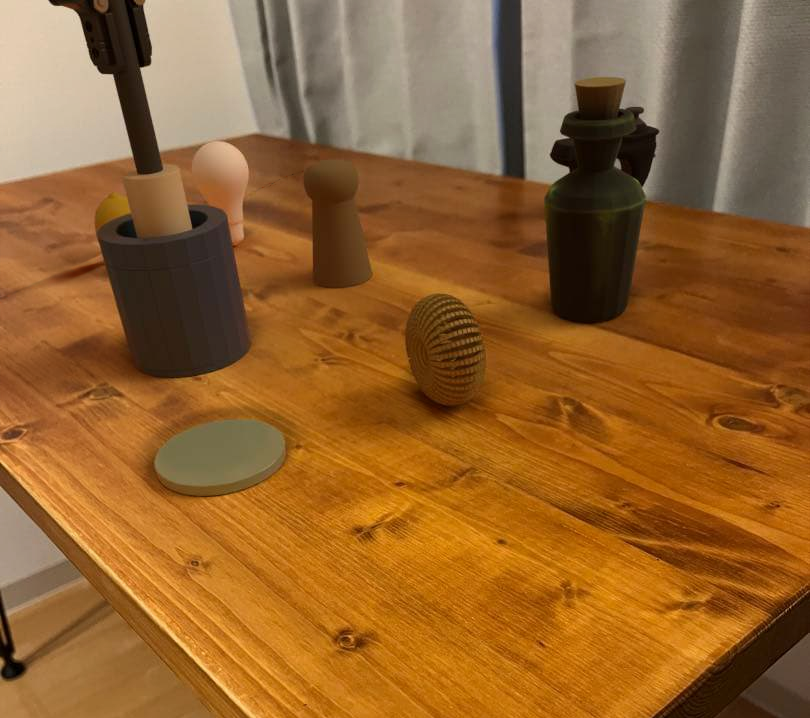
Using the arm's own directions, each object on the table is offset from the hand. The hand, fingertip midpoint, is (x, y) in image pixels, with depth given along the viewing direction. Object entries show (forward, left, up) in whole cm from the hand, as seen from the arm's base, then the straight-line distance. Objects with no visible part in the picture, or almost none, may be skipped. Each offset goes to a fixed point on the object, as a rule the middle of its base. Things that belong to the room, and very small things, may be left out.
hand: (125, 68), depth 63 cm
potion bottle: (+28, +21, -22) cm, 41 cm away
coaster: (+15, -13, -22) cm, 30 cm away
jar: (0, 0, -22) cm, 22 cm away
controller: (+18, +49, -22) cm, 57 cm away
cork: (+2, +20, -22) cm, 30 cm away
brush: (0, 0, -12) cm, 12 cm away
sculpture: (+25, +1, -22) cm, 33 cm away
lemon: (-22, +14, -22) cm, 34 cm away
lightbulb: (-16, +24, -22) cm, 36 cm away
